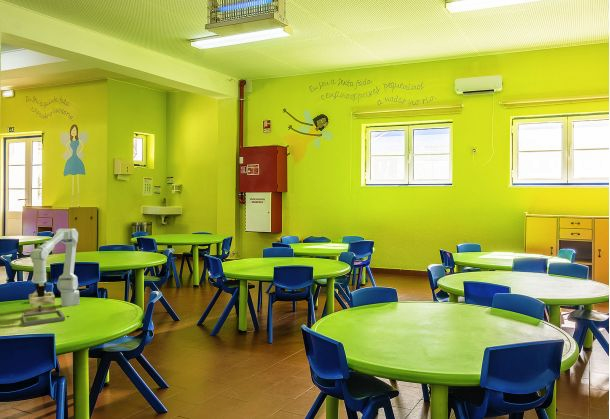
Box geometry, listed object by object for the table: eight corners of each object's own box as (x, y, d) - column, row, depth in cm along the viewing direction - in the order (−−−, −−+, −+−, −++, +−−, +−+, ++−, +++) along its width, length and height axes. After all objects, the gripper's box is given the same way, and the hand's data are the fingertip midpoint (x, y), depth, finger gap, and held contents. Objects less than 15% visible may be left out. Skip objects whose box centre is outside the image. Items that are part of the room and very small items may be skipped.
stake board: (53, 307, 291) (52, 295, 291) (56, 313, 278) (56, 301, 277) (22, 311, 283) (22, 299, 283) (25, 317, 270) (24, 305, 269)
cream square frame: (52, 298, 275) (52, 291, 274) (55, 303, 264) (54, 296, 264) (28, 301, 269) (28, 293, 269) (30, 306, 258) (30, 298, 258)
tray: (60, 313, 277) (60, 309, 277) (65, 320, 262) (64, 316, 262) (22, 318, 268) (21, 314, 267) (24, 326, 252) (24, 322, 252)
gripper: (30, 270, 274) (31, 296, 274) (32, 274, 262) (33, 301, 262) (44, 269, 278) (45, 294, 278) (47, 273, 265) (48, 299, 266)
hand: (40, 297), depth 270 cm, fingers closed on cream square frame, 3 cm apart
